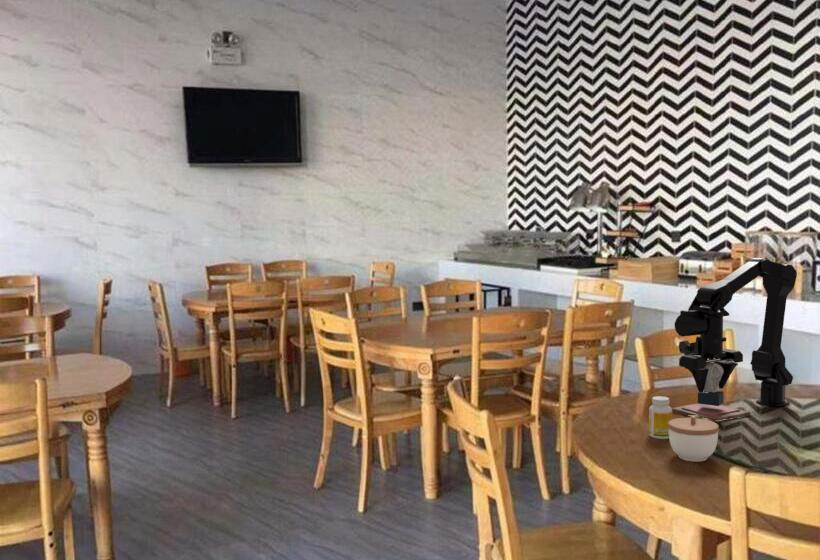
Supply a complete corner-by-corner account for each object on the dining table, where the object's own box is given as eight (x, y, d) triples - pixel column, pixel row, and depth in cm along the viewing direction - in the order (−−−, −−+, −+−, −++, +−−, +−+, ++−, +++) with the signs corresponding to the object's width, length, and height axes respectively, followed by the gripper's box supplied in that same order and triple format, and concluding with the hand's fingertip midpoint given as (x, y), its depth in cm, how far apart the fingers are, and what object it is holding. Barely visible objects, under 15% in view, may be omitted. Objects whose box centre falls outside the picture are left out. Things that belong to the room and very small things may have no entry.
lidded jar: (691, 468, 171) (692, 425, 170) (657, 454, 180) (657, 414, 180) (729, 460, 175) (729, 419, 174) (693, 447, 185) (694, 408, 184)
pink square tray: (707, 404, 224) (707, 399, 224) (749, 415, 211) (749, 410, 211) (672, 411, 217) (672, 406, 217) (713, 423, 205) (713, 417, 205)
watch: (725, 401, 215) (726, 361, 214) (716, 407, 209) (717, 366, 208) (704, 398, 219) (704, 359, 218) (695, 404, 212) (695, 364, 211)
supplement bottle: (644, 435, 196) (644, 397, 195) (660, 432, 198) (660, 394, 197) (659, 440, 191) (660, 401, 190) (676, 437, 193) (676, 398, 192)
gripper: (711, 326, 224) (710, 380, 225) (663, 332, 215) (663, 389, 216) (744, 331, 214) (743, 387, 215) (696, 338, 205) (695, 397, 207)
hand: (710, 390), depth 214 cm, fingers closed on watch, 7 cm apart
